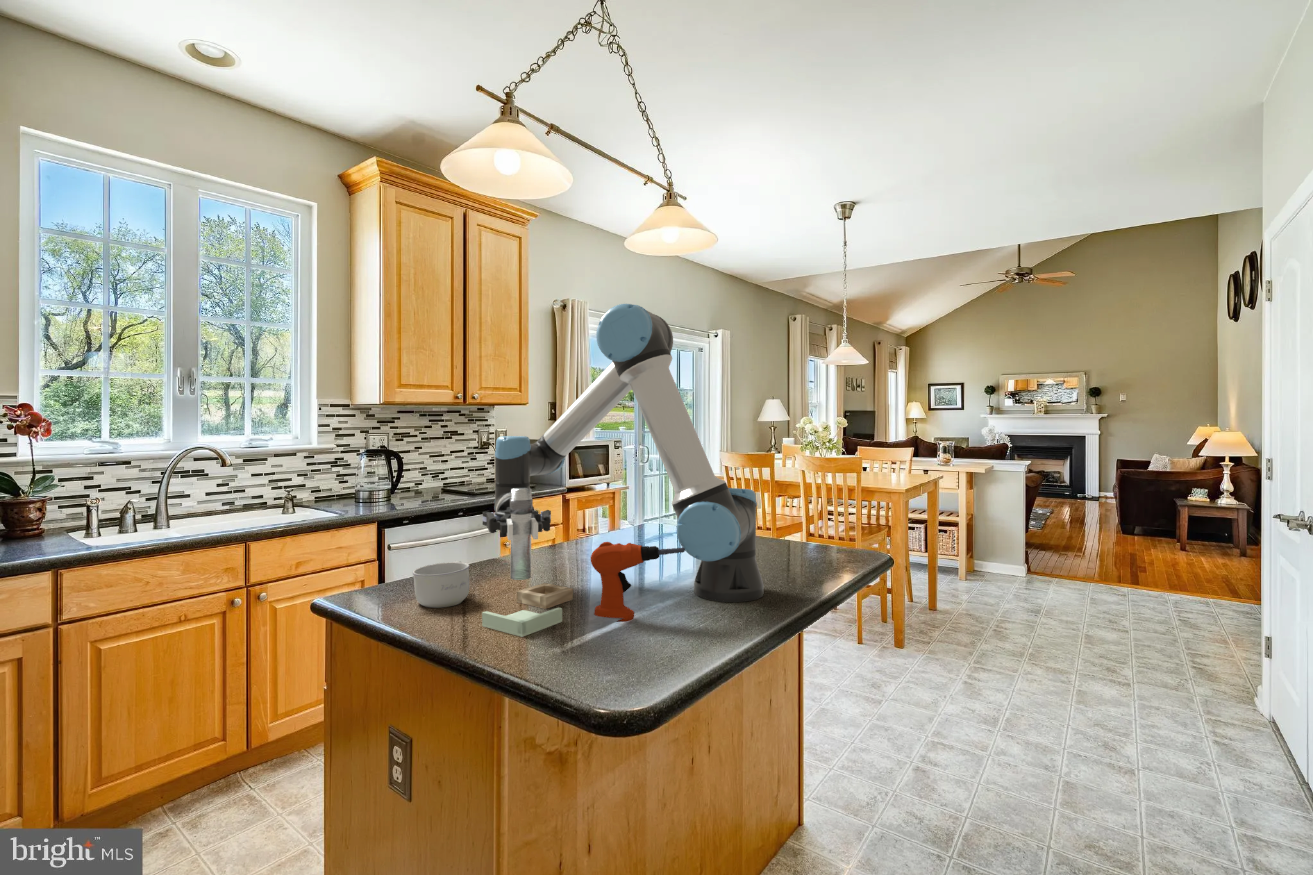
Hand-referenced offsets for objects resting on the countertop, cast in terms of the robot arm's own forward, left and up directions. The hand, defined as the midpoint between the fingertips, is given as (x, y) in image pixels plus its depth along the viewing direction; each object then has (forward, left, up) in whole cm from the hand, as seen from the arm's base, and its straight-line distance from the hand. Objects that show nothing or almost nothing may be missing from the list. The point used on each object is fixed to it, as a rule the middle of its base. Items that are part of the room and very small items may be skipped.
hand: (523, 531), depth 107 cm
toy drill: (-10, -20, -19) cm, 29 cm away
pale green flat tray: (+4, -4, -18) cm, 19 cm away
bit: (+4, -3, -9) cm, 11 cm away
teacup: (+28, -6, -19) cm, 34 cm away
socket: (+11, -17, -18) cm, 27 cm away
